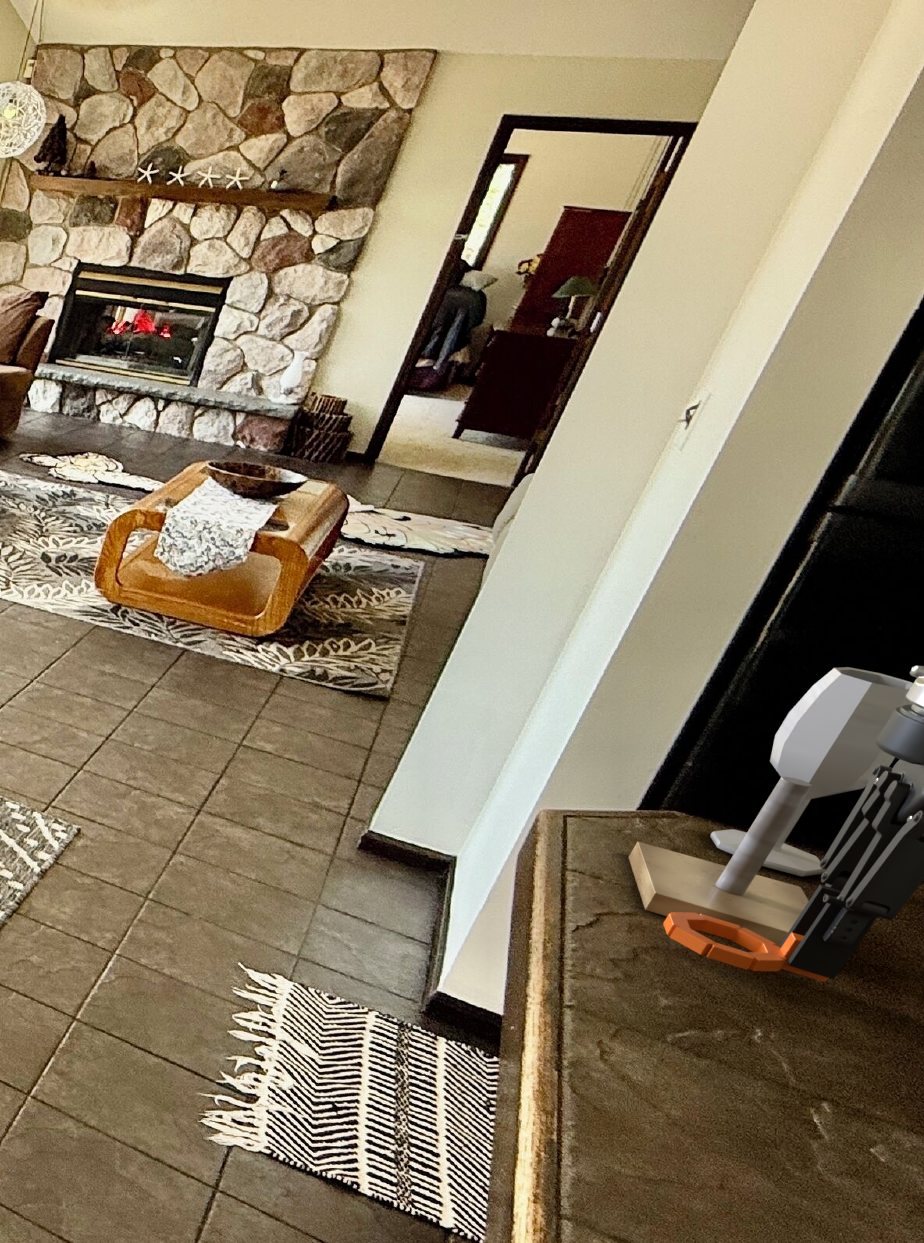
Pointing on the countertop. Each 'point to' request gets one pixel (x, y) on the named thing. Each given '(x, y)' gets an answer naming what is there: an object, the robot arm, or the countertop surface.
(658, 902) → the board
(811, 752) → the wineglass
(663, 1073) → the countertop surface
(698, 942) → the ring
